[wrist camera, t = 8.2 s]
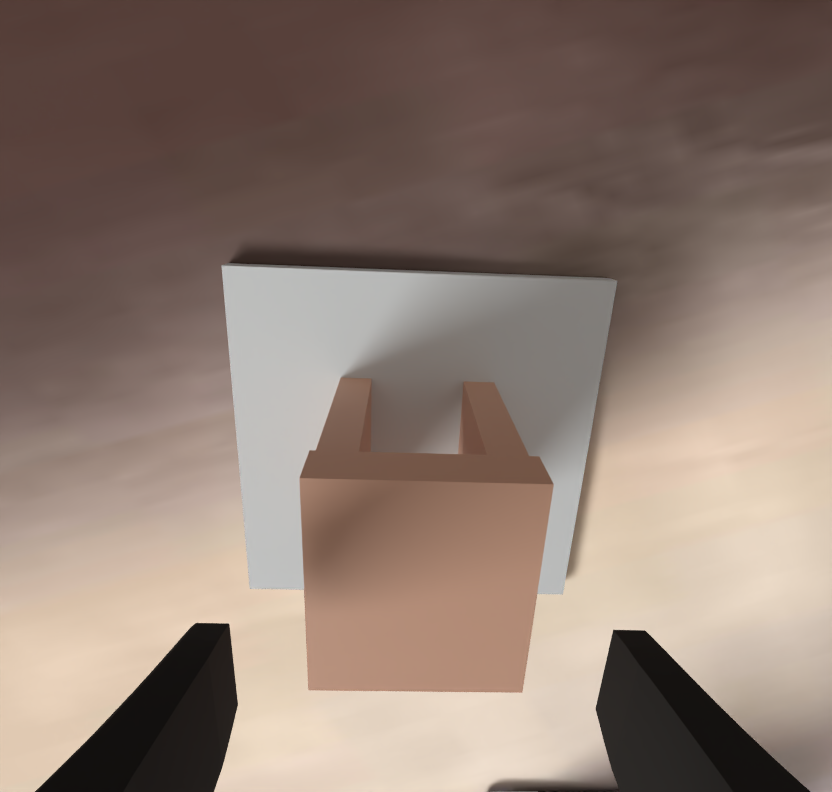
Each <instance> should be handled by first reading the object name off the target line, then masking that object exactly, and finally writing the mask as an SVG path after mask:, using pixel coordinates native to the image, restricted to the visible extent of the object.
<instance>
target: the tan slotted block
mask: <svg viewBox="0 0 832 792" xmlns="http://www.w3.org/2000/svg"><path fill="white" fill-rule="evenodd" d="M371 389H372V379H370V378H340V381H339V384H338V387H337V390H336V393H335V396H334V399H333V402H332V404H331V407H330V410H329V413H328V416H327V419H326V422H325V425H324V428H323V431H322V434H321V437H320V439H319V442H318V445H317V448H316V450H309V453H308V456H307V459H306V461H305V464H304V467H303V470H302V472H301V475H300V478H299V482H300V505H301V528H302V551H303V574H304V598H305V621H306V644H307V667H308V690H339V691H432V692H522V691H523V684H524V677H525V671H526V664H527V658H528V651H529V645H530V638H531V631H532V625H533V618H534V612H535V605H536V598H537V592H538V585H539V579H540V572H541V566H542V559H543V552H544V546H545V539H546V533H547V526H548V519H549V513H550V506H551V500H552V493H553V487H554V484H553V482H552V480H551V478H550V476H549V474H548V472H547V470H546V468H545V466H544V464H543V462H542V461H541V459H540V457H539V456H529V454H528V452H527V450H526V448H525V446H524V444H523V442H522V440H521V438H520V436H519V434H518V431H517V429H516V427H515V425H514V423H513V421H512V419H511V417H510V415H509V413H508V411H507V408H506V406H505V404H504V402H503V400H502V398H501V396H500V394H499V392H498V390H497V387H496V385H495V383H494V382H466V381H464V383H463V396H462V409H461V422H460V435H459V448H458V454H432V453H394V452H371Z"/></svg>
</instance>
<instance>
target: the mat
mask: <svg viewBox="0 0 832 792" xmlns="http://www.w3.org/2000/svg"><path fill="white" fill-rule="evenodd" d="M222 276H223V287H224V298H225V310H226V321H227V333H228V344H229V356H230V367H231V379H232V390H233V402H234V413H235V425H236V436H237V447H238V459H239V470H240V482H241V493H242V505H243V516H244V528H245V539H246V551H247V562H248V573H249V585H250V589H296V590H304V574H303V551H302V528H301V505H300V482H299V478H300V475H301V472H302V470H303V467H304V464H305V461H306V459H307V456H308V453H309V450H316V448H317V445H318V442H319V439H320V437H321V434H322V431H323V428H324V425H325V422H326V419H327V416H328V413H329V410H330V407H331V404H332V402H333V399H334V396H335V393H336V390H337V387H338V384H339V381H340V378H370V379H372V389H371V452H394V453H432V454H458V448H459V435H460V422H461V409H462V396H463V383H464V381H466V382H494V383H495V385H496V387H497V390H498V392H499V394H500V396H501V398H502V400H503V402H504V404H505V406H506V408H507V411H508V413H509V415H510V417H511V419H512V421H513V423H514V425H515V427H516V429H517V431H518V434H519V436H520V438H521V440H522V442H523V444H524V446H525V448H526V450H527V452H528V454H529V456H539V457H540V459H541V461H542V462H543V464H544V466H545V468H546V470H547V472H548V474H549V476H550V478H551V480H552V482H553V484H554V487H553V493H552V500H551V506H550V513H549V519H548V526H547V533H546V539H545V546H544V552H543V559H542V566H541V572H540V579H539V585H538V592H537V594H563V590H564V584H565V579H566V573H567V567H568V562H569V556H570V550H571V544H572V539H573V533H574V527H575V521H576V516H577V510H578V504H579V499H580V493H581V487H582V481H583V476H584V470H585V464H586V458H587V453H588V447H589V441H590V436H591V430H592V424H593V418H594V413H595V407H596V401H597V395H598V390H599V384H600V378H601V372H602V367H603V361H604V355H605V350H606V344H607V338H608V332H609V327H610V321H611V315H612V309H613V304H614V298H615V292H616V287H617V281H616V280H614V279H611V278H594V277H569V276H543V275H518V274H492V273H466V272H441V271H415V270H390V269H364V268H339V267H313V266H288V265H262V264H237V263H227V264H224V265H222Z"/></svg>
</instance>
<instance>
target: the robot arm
mask: <svg viewBox="0 0 832 792" xmlns="http://www.w3.org/2000/svg"><path fill="white" fill-rule="evenodd" d="M237 706H238V702H237V693H236V683H235V674H234V665H233V655H232V646H231V636H230V627H229V624H218V623H196V624H194V625H193V626H192V627H191V628H190V629H189V630H188V631H187V632H186V633H185V635H184V636H183V637H182V638H181V639H180V640H179V641H178V643H177V644H176V645H175V646H174V647H173V648H172V649H171V650H170V652H169V653H168V654H167V655H166V656H165V657H164V658H163V660H162V661H161V662H160V663H159V664H158V665H157V666H156V667H155V669H154V670H153V671H152V672H151V673H150V674H149V675H148V676H147V677H146V679H145V680H144V681H143V682H142V683H141V684H140V685H139V686H138V687H137V688H136V690H135V691H134V692H133V693H132V694H131V695H130V696H129V697H128V698H127V699H126V700H125V701H124V702H123V703H122V704H121V706H120V707H119V708H118V709H117V710H116V711H115V712H114V713H113V714H112V715H111V716H110V717H109V718H108V719H107V720H106V721H105V723H104V724H103V725H102V726H101V727H100V728H99V729H98V730H97V731H96V732H95V733H94V734H93V735H92V736H91V737H90V738H89V739H88V740H87V741H86V742H85V743H84V744H83V745H82V746H81V747H80V748H79V749H78V750H77V751H76V752H75V753H74V754H73V755H72V756H71V757H70V758H69V759H68V760H67V761H66V762H65V763H64V764H63V765H62V766H61V767H60V768H59V769H58V770H57V771H56V772H55V773H54V774H53V775H52V776H51V777H50V778H49V779H48V780H47V781H46V782H45V783H44V784H43V785H42V786H41V787H39V788H38V789H37V790H36V791H35V792H214V789H215V787H216V784H217V781H218V778H219V775H220V772H221V769H222V766H223V762H224V759H225V755H226V751H227V747H228V743H229V739H230V735H231V731H232V727H233V722H234V718H235V714H236V710H237ZM596 712H597V716H598V719H599V723H600V727H601V731H602V735H603V739H604V743H605V746H606V750H607V754H608V757H609V761H610V764H611V768H612V771H613V774H614V776H615V779H616V782H617V785H618V787H619V790H620V792H810V791H809V790H808V789H807V788H806V787H805V786H803V785H802V784H801V783H800V782H799V781H798V780H797V779H796V778H795V777H793V776H792V775H791V774H790V773H789V772H788V771H787V770H786V769H785V768H784V767H782V766H781V765H780V764H779V763H778V762H777V761H776V760H775V759H774V758H773V757H772V756H771V755H770V754H768V753H767V752H766V751H765V750H764V749H763V748H762V747H761V746H760V745H759V744H758V743H757V742H756V741H755V740H754V739H753V738H752V737H751V736H750V735H748V734H747V733H746V732H745V731H744V730H743V729H742V728H741V727H740V726H739V725H738V724H737V723H736V722H735V721H734V720H733V719H732V718H731V717H730V716H729V715H728V714H727V713H726V712H725V711H724V710H723V709H722V708H721V707H720V706H719V705H718V704H717V703H716V702H715V701H714V700H713V699H712V698H711V697H710V696H709V695H708V694H707V693H706V692H705V691H704V690H703V689H702V688H701V687H700V686H699V685H698V684H697V683H696V682H695V681H694V680H693V679H692V678H691V677H690V676H689V675H688V674H687V673H686V672H685V671H684V670H683V669H682V668H681V666H680V665H679V664H678V663H677V662H676V661H675V660H674V659H673V658H672V657H671V656H670V655H669V654H668V653H667V652H666V651H665V650H664V649H663V648H662V647H661V646H660V645H659V644H658V643H657V642H656V641H655V640H654V639H653V638H652V637H651V636H650V635H649V634H648V633H647V632H646V631H640V630H613V634H612V638H611V643H610V647H609V652H608V656H607V661H606V665H605V670H604V674H603V679H602V683H601V688H600V692H599V696H598V701H597V705H596ZM492 792H536V791H492Z"/></svg>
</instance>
